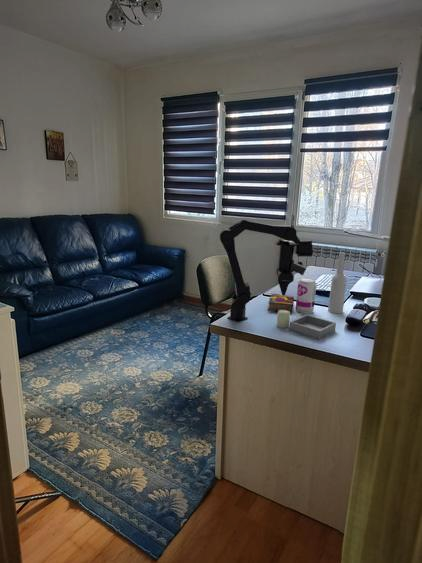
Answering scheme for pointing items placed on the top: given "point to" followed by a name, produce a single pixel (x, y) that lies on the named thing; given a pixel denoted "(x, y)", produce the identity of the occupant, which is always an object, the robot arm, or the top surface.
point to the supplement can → (305, 295)
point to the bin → (312, 326)
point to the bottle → (338, 288)
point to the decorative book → (281, 302)
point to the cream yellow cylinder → (283, 318)
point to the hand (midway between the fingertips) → (282, 292)
